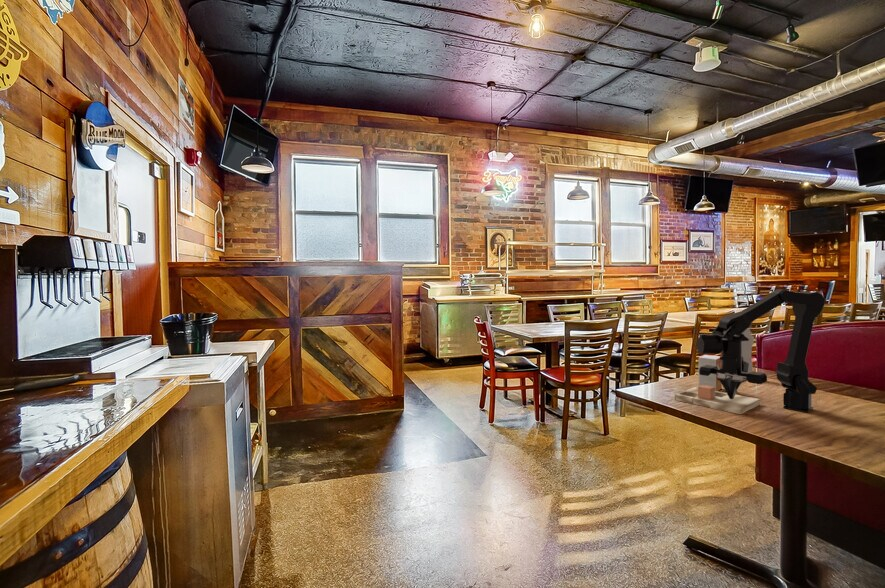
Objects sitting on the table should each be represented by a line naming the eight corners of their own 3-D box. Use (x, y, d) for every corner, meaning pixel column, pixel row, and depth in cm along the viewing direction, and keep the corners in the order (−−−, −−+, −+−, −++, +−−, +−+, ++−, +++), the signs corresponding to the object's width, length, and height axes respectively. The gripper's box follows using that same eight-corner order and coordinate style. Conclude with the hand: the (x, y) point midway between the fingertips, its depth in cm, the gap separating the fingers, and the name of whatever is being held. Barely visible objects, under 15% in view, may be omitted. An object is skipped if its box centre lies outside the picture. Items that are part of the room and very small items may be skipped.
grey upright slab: (752, 377, 187) (753, 327, 186) (754, 379, 183) (754, 328, 182) (723, 375, 192) (724, 326, 191) (724, 377, 188) (724, 327, 187)
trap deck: (759, 404, 150) (759, 399, 149) (740, 414, 140) (740, 408, 140) (695, 392, 167) (695, 387, 167) (674, 399, 158) (674, 394, 158)
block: (715, 397, 152) (715, 386, 152) (710, 400, 150) (710, 388, 150) (703, 395, 155) (703, 384, 155) (698, 397, 153) (698, 386, 153)
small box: (716, 392, 165) (716, 359, 165) (698, 389, 170) (698, 357, 169) (722, 388, 171) (722, 356, 170) (704, 385, 176) (704, 354, 175)
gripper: (773, 354, 143) (773, 400, 144) (712, 347, 158) (712, 389, 159) (760, 358, 137) (760, 407, 137) (698, 351, 152) (698, 394, 153)
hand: (731, 398), depth 147 cm, fingers closed
